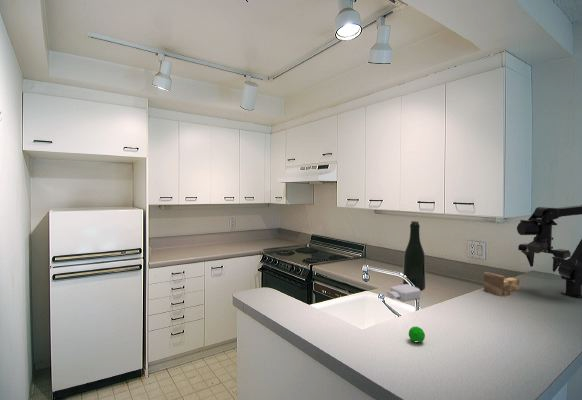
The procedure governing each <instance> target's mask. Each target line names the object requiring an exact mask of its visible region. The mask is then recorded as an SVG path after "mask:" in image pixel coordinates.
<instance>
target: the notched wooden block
mask: <svg viewBox="0 0 582 400" xmlns="http://www.w3.org/2000/svg"><path fill="white" fill-rule="evenodd" d="M483 275H484V277H483V278H484V281H483V292H487V293H491V294H493V295H496V296H499V297H504V296H509V295H511V291H510V286H511V285H509V284H504V279H506V277H505V275H501V274H496V273H493V272H490V271H484V272H483Z"/></svg>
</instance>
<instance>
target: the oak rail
mask: <svg viewBox="0 0 582 400" xmlns="http://www.w3.org/2000/svg"><path fill="white" fill-rule="evenodd" d="M504 284H509V285H511V286H510V292H514V291H519V290H520V278H516V277H513V276H512V277H505V278H504Z"/></svg>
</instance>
